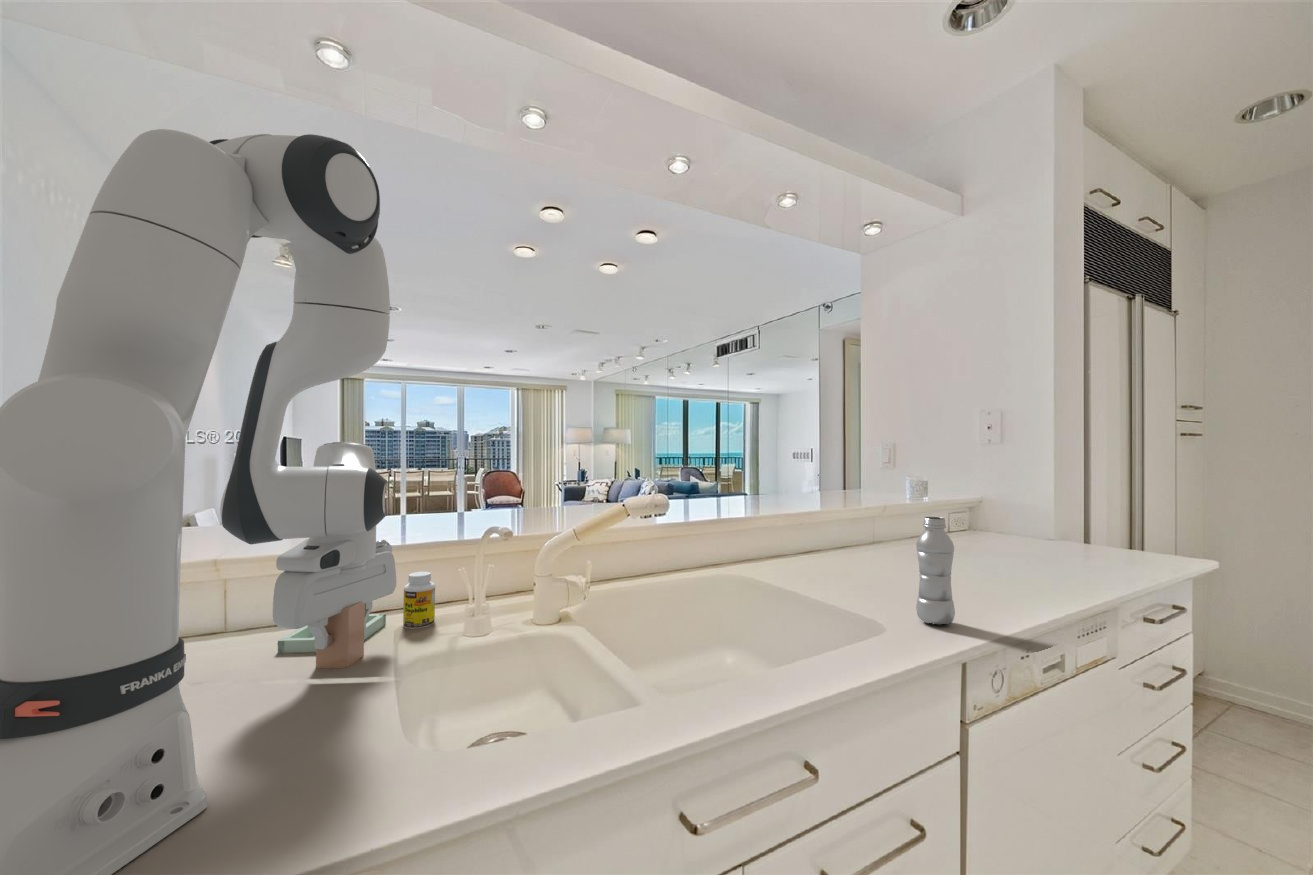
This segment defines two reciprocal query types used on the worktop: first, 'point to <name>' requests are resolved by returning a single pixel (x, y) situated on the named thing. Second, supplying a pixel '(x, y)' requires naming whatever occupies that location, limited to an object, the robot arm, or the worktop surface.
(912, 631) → the worktop surface
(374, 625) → the tray
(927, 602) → the plastic bottle
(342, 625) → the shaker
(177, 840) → the worktop surface
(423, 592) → the supplement bottle
